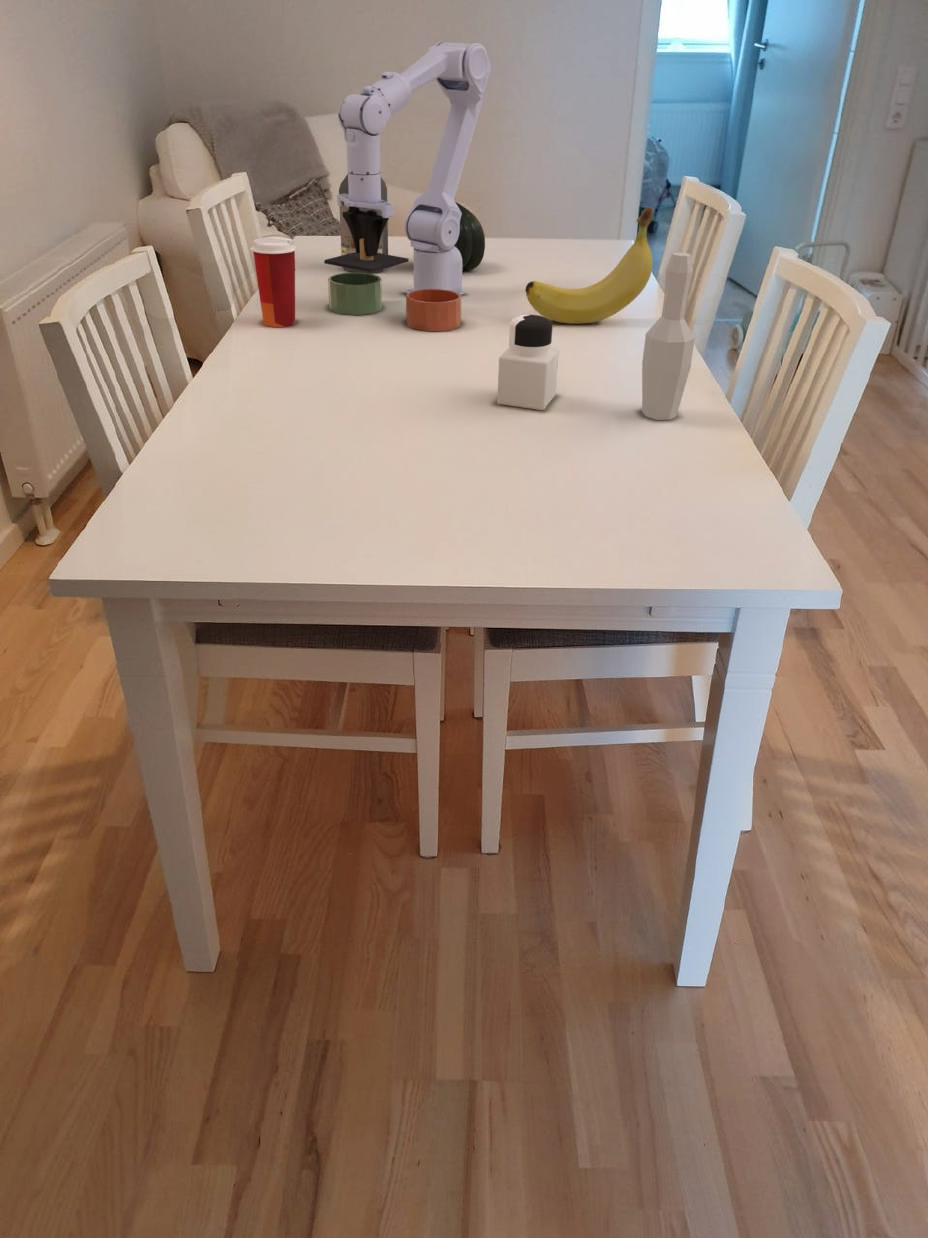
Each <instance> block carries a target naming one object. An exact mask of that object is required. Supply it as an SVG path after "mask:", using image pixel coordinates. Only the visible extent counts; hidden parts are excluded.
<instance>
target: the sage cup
mask: <svg viewBox="0 0 928 1238" xmlns="http://www.w3.org/2000/svg"><path fill="white" fill-rule="evenodd" d="M382 283H383V282H382V278H381V277H380V276H379V275H376V274H374V273H358V272H341V273H336V274H332V275H330V276H329V277H328V278H327V291H328V305H329V310H330V311H331V312H333V313H336V314H339V315H348V316H365V315H371V314H375V313H378V312H381V310H382V307H383V292H382V287H383V285H382Z"/></svg>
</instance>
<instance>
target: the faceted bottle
mask: <svg viewBox="0 0 928 1238" xmlns="http://www.w3.org/2000/svg"><path fill="white" fill-rule="evenodd" d="M693 274H694V267H693V259H692V255H691V254H690V253H689V252H680V251H679V252H673V253H671V256H670V257H669V260H668V263H667V264H666V266H665V277H664V296H663V302H662V303H663V304H662V309H661V310H662V311H661V316H660V317H659V318H658V320H656V322H655V323H654V324H653V325H652V326H651V327H650V328H649V330H647V332H645V339H644V346H643V353H642V354H643V355H642V362H641V363H642V364H641V372H642V373H641V377H642V378H641V400H642V401H641V412H642V414H643V415H644V416H645V417H646V418H649V419H652V420H655V421H670V420H672V419H674V418H676V417H677V416H678V412H679V408H680V405H681V402H682V399H683V395H684V391H685V388H686V385H687V380H688V377H689V374H690V370H691V365H692V359H693V353H694V347H695V339H696V338H695V336H694V335H693V332H692V331H691V329H690V326H689V325H688V323H687V321H686V320H685V315H686V310H687V309H686V308H687V302H688V295H689V290H690V287H691V282H692V279H693Z"/></svg>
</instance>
